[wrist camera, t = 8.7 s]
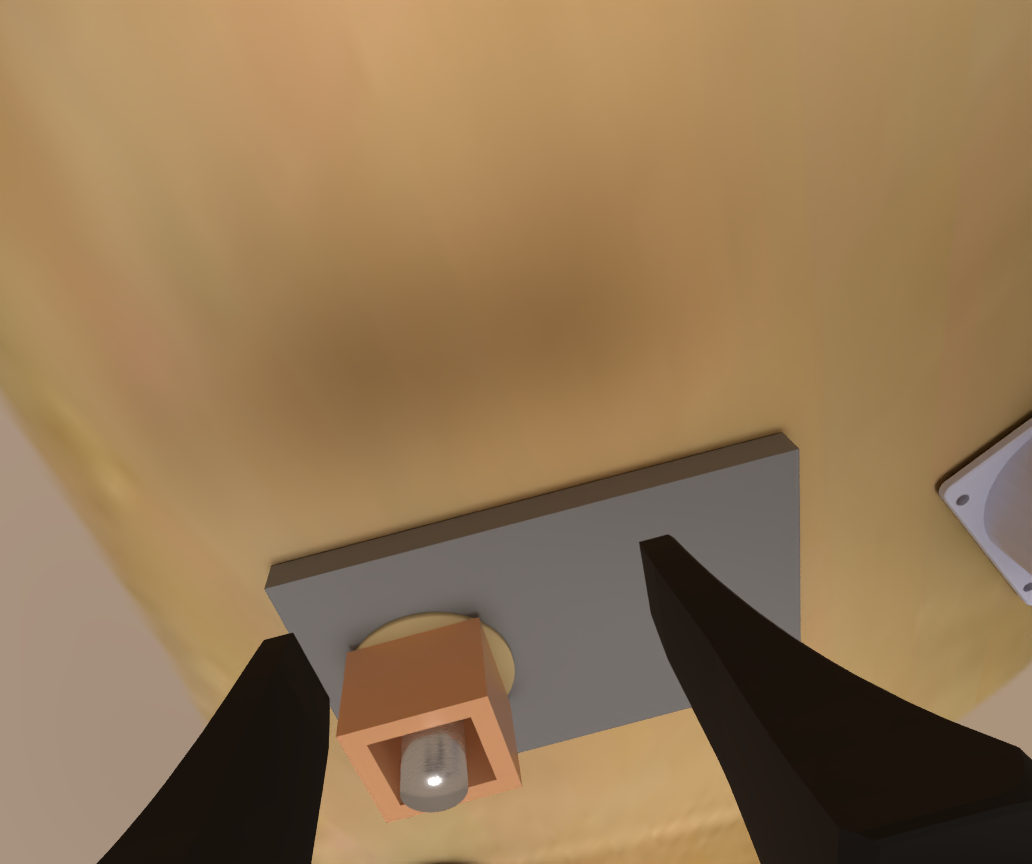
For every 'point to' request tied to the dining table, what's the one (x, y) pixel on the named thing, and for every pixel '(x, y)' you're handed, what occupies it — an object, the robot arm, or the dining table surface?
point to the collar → (427, 710)
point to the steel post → (434, 768)
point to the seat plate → (562, 584)
